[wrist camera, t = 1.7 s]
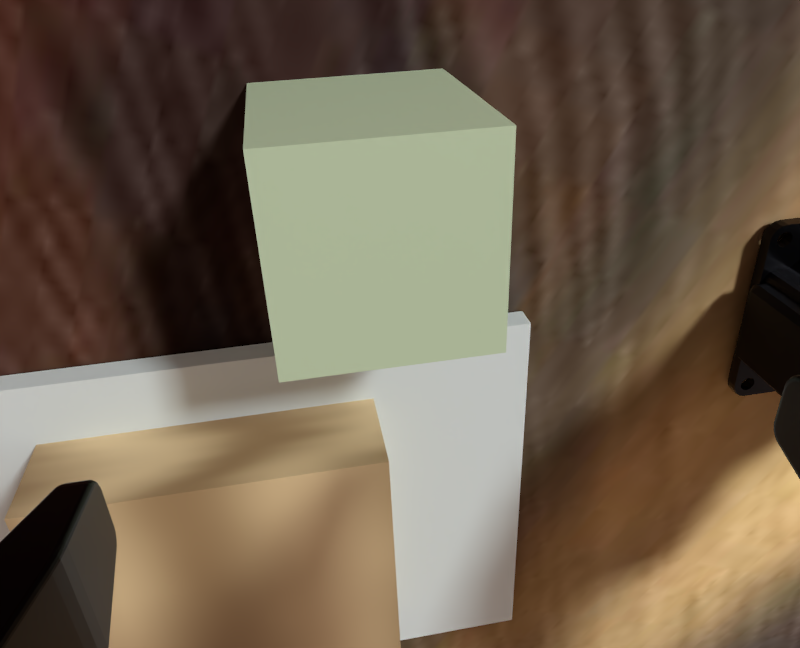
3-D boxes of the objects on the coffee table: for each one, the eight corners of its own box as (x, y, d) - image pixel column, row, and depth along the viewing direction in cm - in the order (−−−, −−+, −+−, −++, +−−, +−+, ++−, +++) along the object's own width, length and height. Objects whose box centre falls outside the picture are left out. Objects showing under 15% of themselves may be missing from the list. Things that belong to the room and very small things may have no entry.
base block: (373, 398, 22) (389, 461, 19) (388, 608, 27) (402, 681, 24) (36, 444, 20) (4, 519, 18) (118, 657, 25) (103, 739, 23)
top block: (442, 68, 18) (516, 125, 13) (443, 245, 21) (506, 352, 15) (246, 83, 17) (243, 149, 12) (273, 264, 20) (278, 382, 15)
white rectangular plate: (522, 311, 22) (530, 323, 21) (506, 603, 29) (512, 619, 28) (-167, 396, 19) (-183, 414, 19) (-2, 695, 26) (-8, 715, 26)
